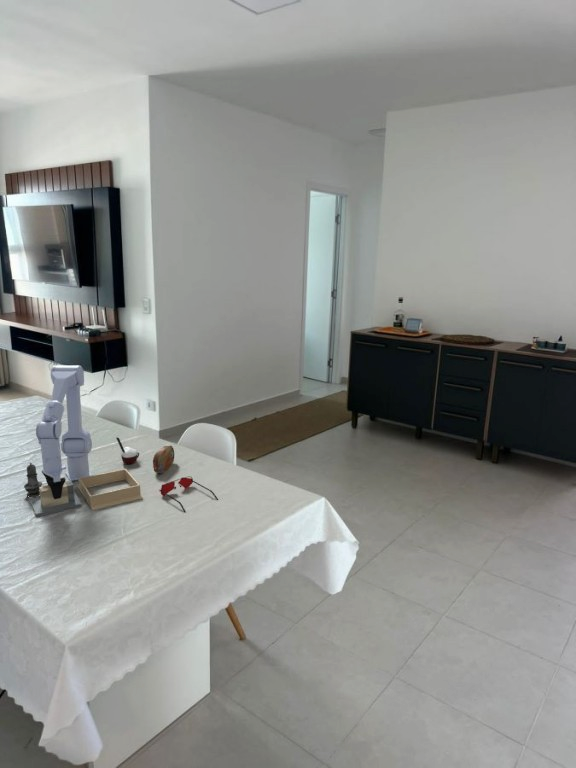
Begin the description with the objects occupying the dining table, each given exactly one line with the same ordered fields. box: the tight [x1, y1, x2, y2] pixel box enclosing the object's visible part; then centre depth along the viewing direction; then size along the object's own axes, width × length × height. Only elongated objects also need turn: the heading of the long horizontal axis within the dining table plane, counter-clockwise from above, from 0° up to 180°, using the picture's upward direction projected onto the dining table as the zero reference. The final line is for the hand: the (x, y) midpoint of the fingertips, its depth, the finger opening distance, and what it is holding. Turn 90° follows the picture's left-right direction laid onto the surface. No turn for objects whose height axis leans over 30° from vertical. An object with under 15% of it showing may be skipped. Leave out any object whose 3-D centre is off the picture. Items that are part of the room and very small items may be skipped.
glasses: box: [158, 475, 219, 513], centre depth 185 cm, size 14×16×5 cm
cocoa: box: [116, 437, 140, 466], centre depth 214 cm, size 10×6×12 cm, turn 117°
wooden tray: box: [77, 468, 144, 511], centre depth 189 cm, size 22×17×4 cm
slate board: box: [30, 491, 82, 517], centre depth 179 cm, size 10×14×1 cm
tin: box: [152, 445, 175, 474], centre depth 209 cm, size 15×3×8 cm, turn 168°
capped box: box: [39, 480, 75, 508], centre depth 178 cm, size 4×10×6 cm, turn 123°
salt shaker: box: [23, 462, 43, 498], centre depth 185 cm, size 6×6×12 cm
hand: (55, 493), depth 178 cm, fingers open, 7 cm apart
